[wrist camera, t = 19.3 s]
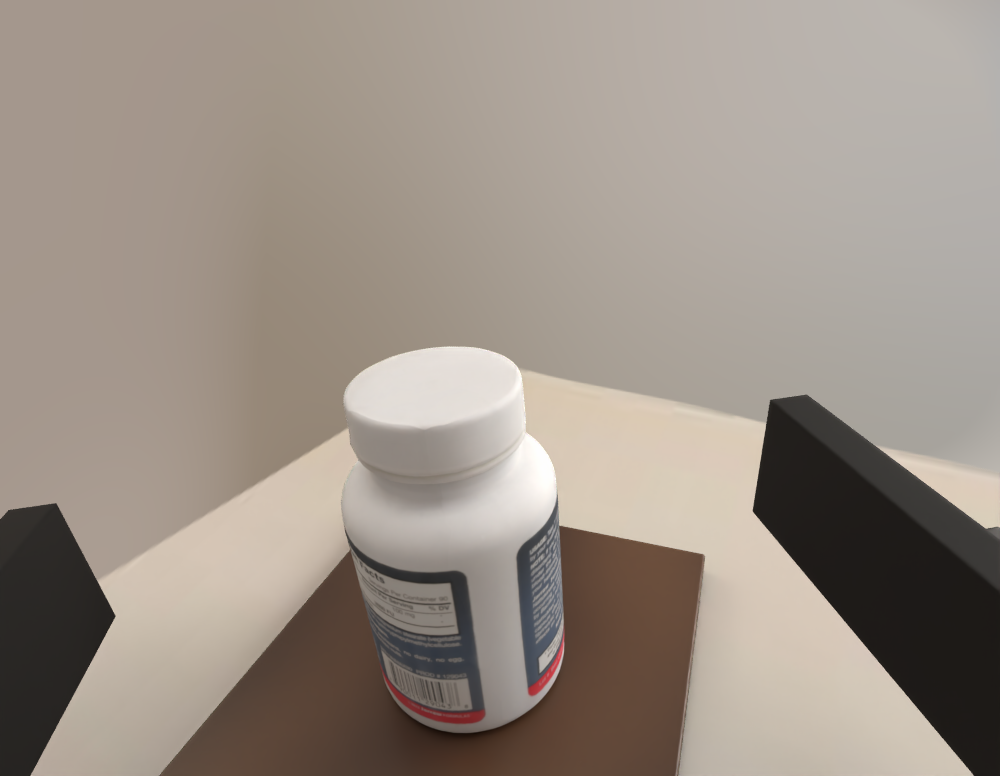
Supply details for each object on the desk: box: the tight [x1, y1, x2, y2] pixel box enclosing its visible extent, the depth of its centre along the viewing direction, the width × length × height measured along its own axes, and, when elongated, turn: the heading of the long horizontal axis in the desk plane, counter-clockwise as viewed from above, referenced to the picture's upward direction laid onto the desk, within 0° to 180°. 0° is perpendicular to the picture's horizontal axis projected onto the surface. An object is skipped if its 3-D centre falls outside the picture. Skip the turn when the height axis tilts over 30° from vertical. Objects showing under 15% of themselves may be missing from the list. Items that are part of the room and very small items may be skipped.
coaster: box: [159, 526, 705, 776], centre depth 17 cm, size 12×12×1 cm
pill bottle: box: [341, 347, 564, 733], centre depth 15 cm, size 5×5×9 cm
